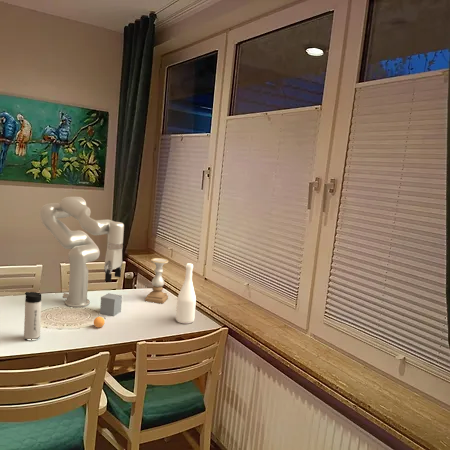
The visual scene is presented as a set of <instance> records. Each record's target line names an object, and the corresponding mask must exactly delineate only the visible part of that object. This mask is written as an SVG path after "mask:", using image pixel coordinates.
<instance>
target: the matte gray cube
mask: <svg viewBox="0 0 450 450" xmlns="http://www.w3.org/2000/svg"><path fill="white" fill-rule="evenodd" d="M122 300H123V295H121V294H115V293H110V292H108V293H106V294H105V295H103V296H100V305H99V306H100V307H99V308H100V309H99V314H100V315H105V316H106V315H107V316H110V317H115V316H117V315H118V314H119V313H121V312H122Z"/></svg>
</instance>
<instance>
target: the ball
mask: <svg viewBox="0 0 450 450" xmlns="http://www.w3.org/2000/svg"><path fill="white" fill-rule="evenodd" d="M105 322H106V321H105V319H104V317H102V316H96V317H95V318H94V320H93V325H94V327H96V328H102V327H103V326H104V325H105Z"/></svg>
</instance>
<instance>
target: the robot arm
mask: <svg viewBox="0 0 450 450" xmlns="http://www.w3.org/2000/svg"><path fill="white" fill-rule="evenodd" d="M91 214H92V212H91V208H90V207H89V206H87V202H86V200H85V199H84V198H83V197H82V196H65V197H63V198H62V199H61V200H60V201H59V202H51V203H46V204H44V205H42V206H41V207H40V209H39V219H40V221H41V223H42V225H43V226H44V227H45V228H46V229H47V231H49V232H50V234H51V235H52V236H53V237H54V238H55V240H56V241H57V242H58V243H59V245H61V247H63V249H65V250H69V251H68V261H69V262H68V263H69V282H68V293H66V292H65V293H63V295H62V298H63V299H66V300H65V301H64V303H65V305H66V306H68V307H73V308H79V307H80V308H81V307H86V306H89V304H90V303H91V302H90V301H91V300H90V299H88V290H89V289H88V288H89V287H88V285H89V268H88V266H87V263H91V262H94V261H97V259H99V257H100V255H101V251H100V249H99V246H98V245H97V244H96V243H95V241H94V240H93V238H91V237H90V236H89V235H93V236H102V235H107V246H106V247H107V248H106V252H105V259H104V266H103V269H104V273H105V274H104V276H105V277H104V281H105V282H109V283H110V282H112V272H113V270H114V277H115V278H121V276H122V275H121V273H122V266H123V262H124V260H123V248H124V245H123V244H124V233H125V232H124V231H125V224H124V223H123V222H122V221H121V222H120V221H114V220H111V219H107V218H106V219H94V218H92V217H90V216H91ZM70 217H72V218H74V219H75V220H76V221H78V224H79V226H80V228H81V229H82V230H81V229H77V230H71V229H70V228H69V227H68V226H67V224H65V223H64V222H63V221H62V220H60V219H65V218H70ZM83 230H84V231H83ZM86 232H87V233H86ZM88 233H89V234H88Z"/></svg>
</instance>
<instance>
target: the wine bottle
mask: <svg viewBox="0 0 450 450" xmlns="http://www.w3.org/2000/svg"><path fill="white" fill-rule="evenodd" d="M193 269H194V264H193V263H191V262H190V263H189V262H188V263H186V264H185V278H184V281H183V283H182V286H181V288H180V291H179V293H178V295H177V301H176V310H175V311H176V312H175V321H176V322H177V323H180V324H187V325H189V324H192V323H193V322H194V321H195V316H196V302H197V297H196V292H195V288H194V283H193Z"/></svg>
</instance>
